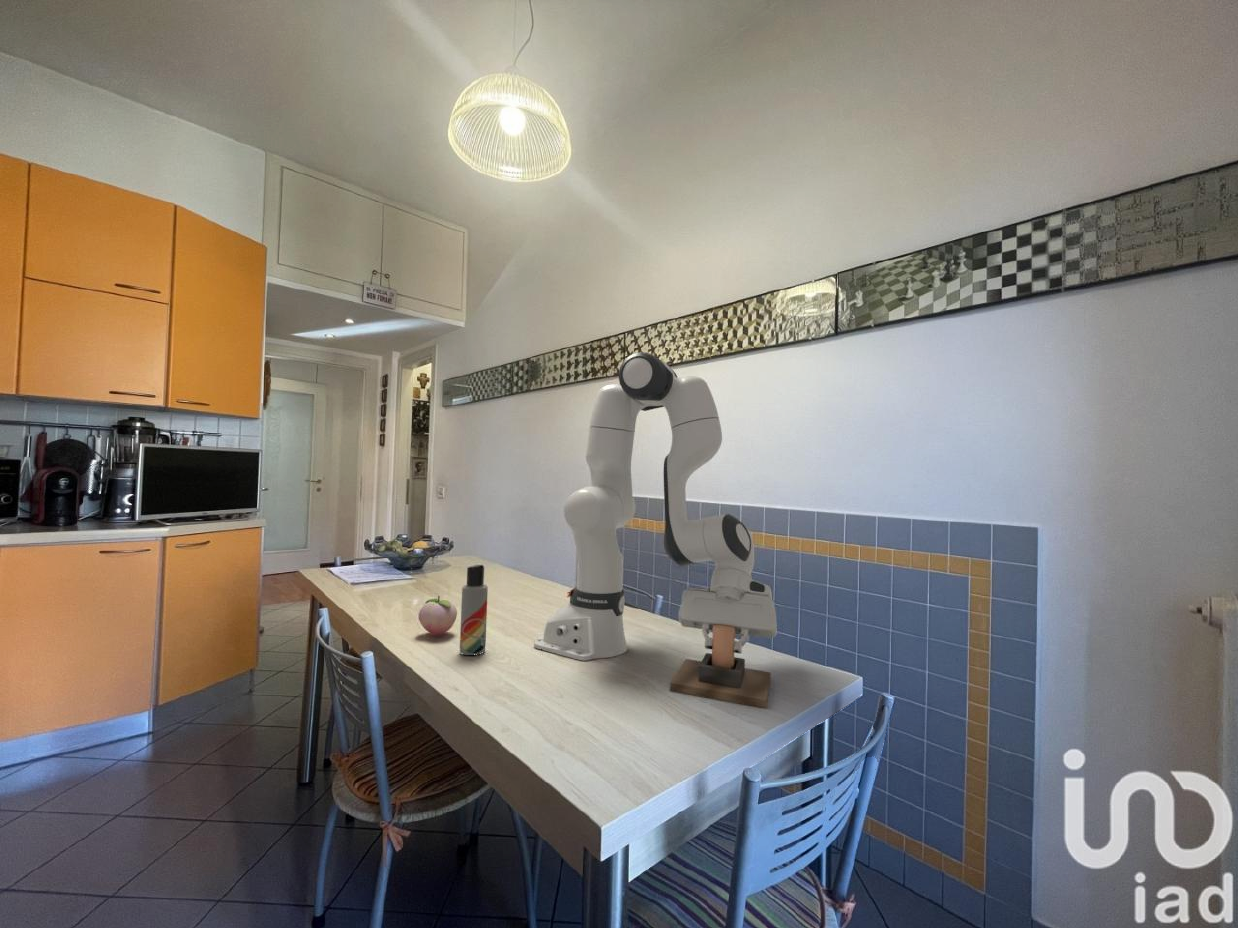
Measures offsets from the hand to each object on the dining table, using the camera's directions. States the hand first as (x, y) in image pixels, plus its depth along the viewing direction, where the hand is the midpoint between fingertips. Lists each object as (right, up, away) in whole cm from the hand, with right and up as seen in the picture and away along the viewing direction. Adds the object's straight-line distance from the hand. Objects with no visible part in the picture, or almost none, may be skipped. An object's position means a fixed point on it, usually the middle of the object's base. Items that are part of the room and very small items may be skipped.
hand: (722, 649), depth 98 cm
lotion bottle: (-55, -6, +14) cm, 57 cm away
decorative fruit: (-67, -6, +25) cm, 71 cm away
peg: (0, -6, 0) cm, 6 cm away
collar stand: (0, -7, 0) cm, 7 cm away
